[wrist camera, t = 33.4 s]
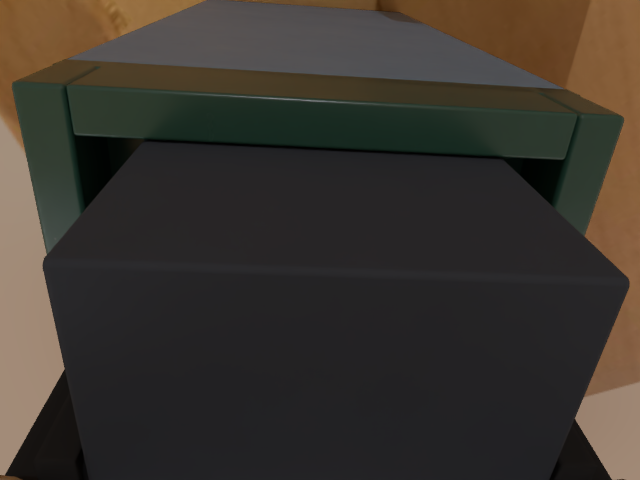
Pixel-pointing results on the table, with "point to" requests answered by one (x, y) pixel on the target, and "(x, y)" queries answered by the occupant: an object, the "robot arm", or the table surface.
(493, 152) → the box
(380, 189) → the dark grey rectangular block
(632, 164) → the table surface
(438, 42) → the stand
